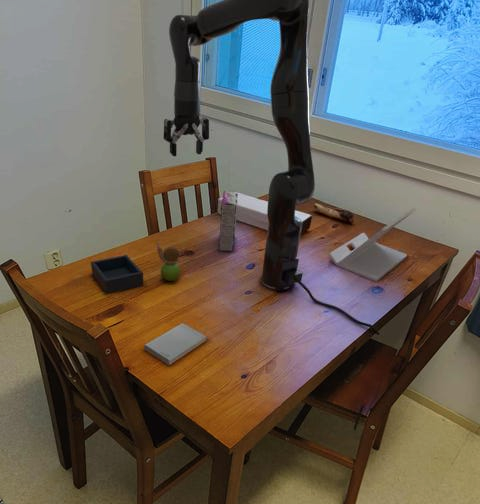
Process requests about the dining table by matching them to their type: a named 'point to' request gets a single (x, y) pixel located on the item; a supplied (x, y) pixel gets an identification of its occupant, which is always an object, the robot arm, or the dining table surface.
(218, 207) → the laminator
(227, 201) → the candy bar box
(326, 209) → the wooden log
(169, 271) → the snail figurine
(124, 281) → the holder
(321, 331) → the dining table surface
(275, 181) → the robot arm
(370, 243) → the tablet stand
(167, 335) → the hard drive
